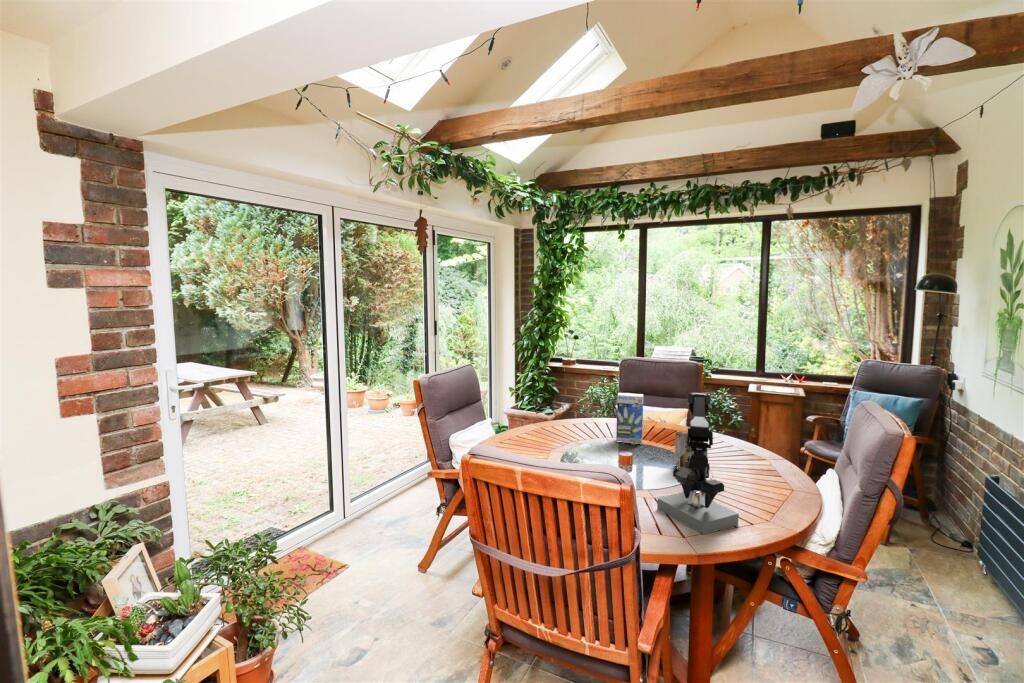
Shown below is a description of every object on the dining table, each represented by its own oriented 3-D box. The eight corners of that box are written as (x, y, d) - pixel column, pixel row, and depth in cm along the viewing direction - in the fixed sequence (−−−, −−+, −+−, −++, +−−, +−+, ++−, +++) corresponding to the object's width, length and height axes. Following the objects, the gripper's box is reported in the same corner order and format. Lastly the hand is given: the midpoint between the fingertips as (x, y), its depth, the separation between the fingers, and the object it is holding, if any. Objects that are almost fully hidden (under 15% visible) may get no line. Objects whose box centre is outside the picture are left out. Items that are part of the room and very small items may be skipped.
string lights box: (615, 443, 263) (616, 394, 261) (617, 439, 271) (618, 392, 268) (641, 445, 260) (643, 396, 257) (642, 441, 267) (643, 393, 264)
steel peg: (689, 515, 178) (690, 491, 177) (696, 513, 179) (696, 489, 178) (696, 518, 175) (697, 494, 175) (702, 517, 177) (703, 492, 176)
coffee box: (693, 465, 229) (695, 431, 227) (699, 470, 223) (700, 435, 221) (674, 466, 229) (675, 431, 227) (679, 471, 222) (680, 435, 221)
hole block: (657, 508, 184) (657, 498, 183) (689, 500, 191) (690, 490, 190) (703, 534, 164) (704, 522, 164) (738, 524, 171) (738, 513, 171)
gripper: (661, 455, 180) (660, 497, 182) (701, 472, 164) (700, 518, 165) (685, 451, 185) (683, 491, 187) (726, 467, 168) (724, 511, 170)
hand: (696, 502), depth 177 cm, fingers open, 9 cm apart
